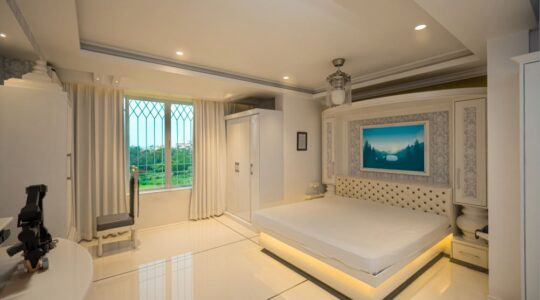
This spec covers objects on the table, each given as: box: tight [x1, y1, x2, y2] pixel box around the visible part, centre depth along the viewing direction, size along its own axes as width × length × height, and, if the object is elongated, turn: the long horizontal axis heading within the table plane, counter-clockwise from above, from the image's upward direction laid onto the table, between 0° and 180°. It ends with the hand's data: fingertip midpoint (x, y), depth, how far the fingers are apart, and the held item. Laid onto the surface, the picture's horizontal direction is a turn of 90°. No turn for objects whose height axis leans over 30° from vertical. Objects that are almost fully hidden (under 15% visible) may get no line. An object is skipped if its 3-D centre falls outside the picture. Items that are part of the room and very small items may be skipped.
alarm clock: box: [48, 238, 59, 250], centre depth 144 cm, size 11×5×15 cm
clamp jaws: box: [17, 256, 50, 278], centre depth 118 cm, size 6×10×4 cm, turn 137°
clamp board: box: [18, 262, 50, 280], centre depth 118 cm, size 12×10×1 cm
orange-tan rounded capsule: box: [26, 259, 41, 272], centre depth 118 cm, size 4×4×6 cm
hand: (33, 266), depth 118 cm, fingers closed on orange-tan rounded capsule, 4 cm apart
